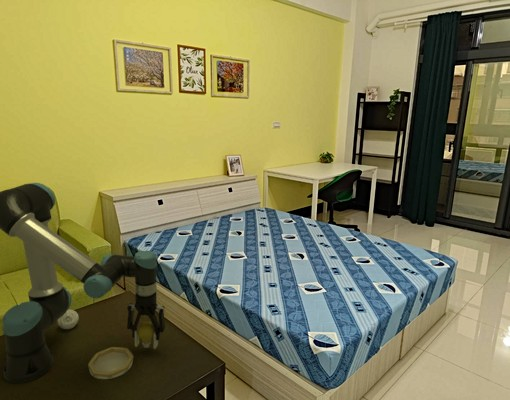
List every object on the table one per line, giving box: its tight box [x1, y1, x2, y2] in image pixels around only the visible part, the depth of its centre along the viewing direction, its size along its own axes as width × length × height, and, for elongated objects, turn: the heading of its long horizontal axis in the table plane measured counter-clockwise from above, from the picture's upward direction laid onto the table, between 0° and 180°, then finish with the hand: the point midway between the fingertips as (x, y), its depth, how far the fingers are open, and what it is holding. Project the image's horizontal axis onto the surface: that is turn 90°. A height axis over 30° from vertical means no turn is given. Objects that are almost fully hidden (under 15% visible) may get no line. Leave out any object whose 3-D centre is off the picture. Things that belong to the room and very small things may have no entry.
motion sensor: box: [56, 309, 80, 330], centre depth 151 cm, size 8×8×8 cm
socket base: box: [87, 346, 134, 380], centre depth 131 cm, size 15×15×2 cm
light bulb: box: [137, 321, 155, 349], centre depth 137 cm, size 7×7×10 cm
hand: (146, 345), depth 138 cm, fingers closed on light bulb, 7 cm apart
